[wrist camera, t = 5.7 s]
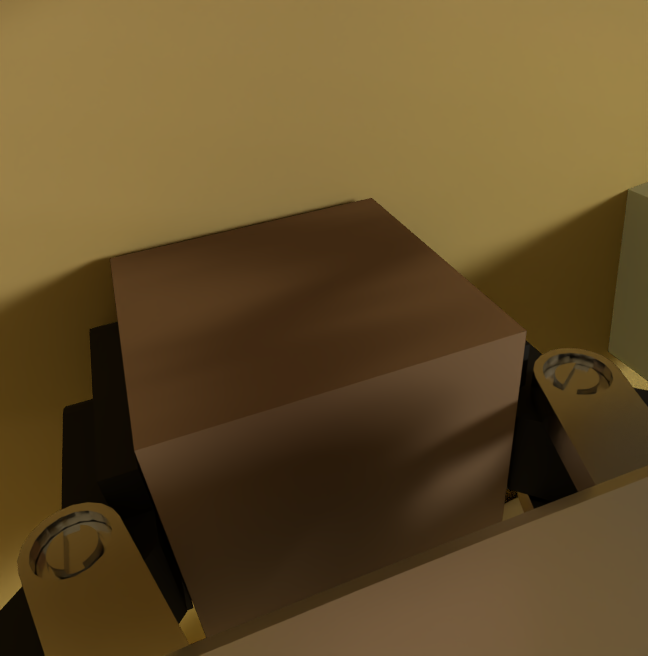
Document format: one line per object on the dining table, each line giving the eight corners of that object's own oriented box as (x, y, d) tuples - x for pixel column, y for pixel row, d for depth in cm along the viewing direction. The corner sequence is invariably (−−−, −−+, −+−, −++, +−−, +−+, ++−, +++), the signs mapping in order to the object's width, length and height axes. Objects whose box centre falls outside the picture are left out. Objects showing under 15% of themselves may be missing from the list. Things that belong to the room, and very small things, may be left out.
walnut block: (371, 198, 12) (526, 330, 8) (380, 391, 14) (497, 561, 11) (109, 258, 10) (135, 451, 7) (175, 456, 13) (220, 673, 9)
